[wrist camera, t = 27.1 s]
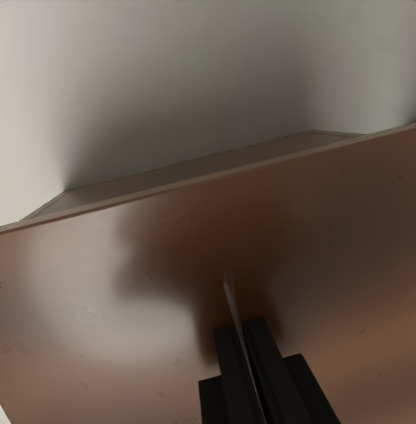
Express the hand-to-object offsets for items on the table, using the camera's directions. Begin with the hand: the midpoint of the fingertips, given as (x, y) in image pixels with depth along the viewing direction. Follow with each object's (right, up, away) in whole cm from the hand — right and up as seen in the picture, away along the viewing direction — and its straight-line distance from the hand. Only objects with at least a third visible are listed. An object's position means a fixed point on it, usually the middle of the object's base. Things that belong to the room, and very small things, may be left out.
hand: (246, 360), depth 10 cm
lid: (0, -2, +2) cm, 3 cm away
